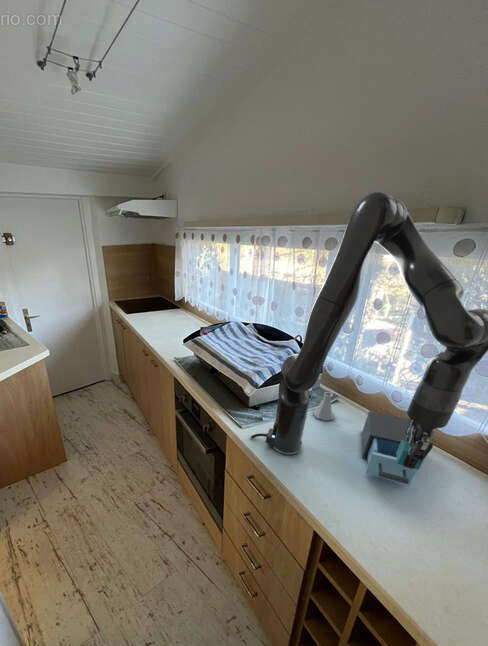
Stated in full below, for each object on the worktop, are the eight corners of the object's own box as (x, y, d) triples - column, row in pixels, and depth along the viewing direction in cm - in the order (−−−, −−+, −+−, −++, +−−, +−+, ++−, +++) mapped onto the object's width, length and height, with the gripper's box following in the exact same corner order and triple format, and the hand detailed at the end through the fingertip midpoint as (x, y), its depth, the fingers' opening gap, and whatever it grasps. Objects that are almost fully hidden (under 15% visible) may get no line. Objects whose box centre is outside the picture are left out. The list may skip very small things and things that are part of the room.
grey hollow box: (407, 469, 95) (418, 445, 90) (362, 457, 100) (370, 434, 95) (402, 442, 106) (411, 419, 102) (361, 432, 111) (369, 410, 107)
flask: (334, 421, 117) (340, 399, 113) (315, 419, 119) (320, 398, 114) (331, 411, 124) (336, 390, 119) (312, 409, 125) (316, 388, 120)
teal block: (397, 464, 74) (403, 450, 72) (395, 453, 78) (401, 439, 75) (418, 470, 72) (425, 455, 70) (416, 458, 76) (423, 444, 74)
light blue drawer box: (411, 498, 84) (421, 478, 81) (365, 484, 89) (372, 464, 85) (404, 456, 99) (412, 437, 95) (364, 446, 103) (371, 428, 100)
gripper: (463, 423, 60) (429, 485, 68) (448, 390, 71) (421, 447, 79) (417, 413, 63) (390, 474, 71) (410, 383, 74) (388, 439, 82)
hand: (407, 460), depth 75 cm, fingers closed on teal block, 4 cm apart
